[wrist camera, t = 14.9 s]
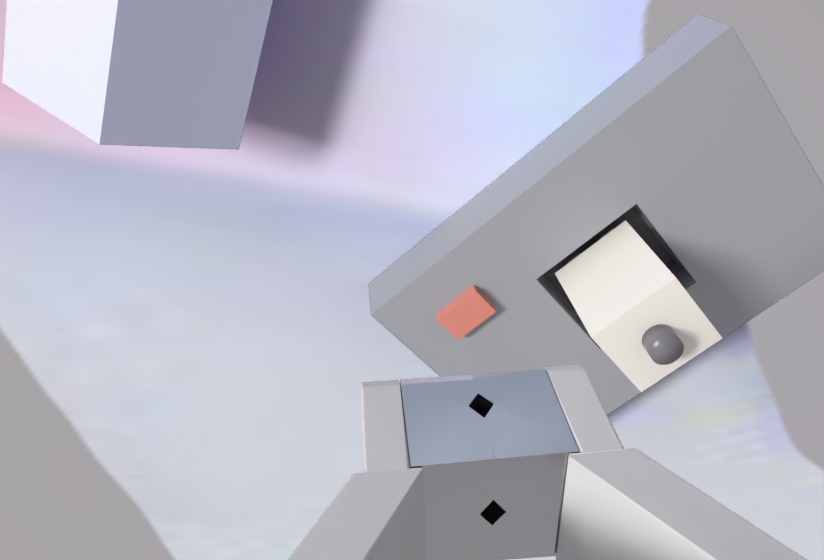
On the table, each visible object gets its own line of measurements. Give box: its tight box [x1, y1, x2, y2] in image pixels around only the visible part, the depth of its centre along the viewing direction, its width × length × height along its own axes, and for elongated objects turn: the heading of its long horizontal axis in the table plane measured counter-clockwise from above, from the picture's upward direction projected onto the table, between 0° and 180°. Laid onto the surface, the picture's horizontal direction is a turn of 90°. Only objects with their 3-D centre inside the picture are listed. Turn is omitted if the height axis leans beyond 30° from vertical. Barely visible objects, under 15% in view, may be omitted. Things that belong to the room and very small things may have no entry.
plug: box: [555, 220, 722, 392], centre depth 32 cm, size 4×4×8 cm
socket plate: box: [368, 15, 824, 415], centre depth 34 cm, size 20×14×4 cm
